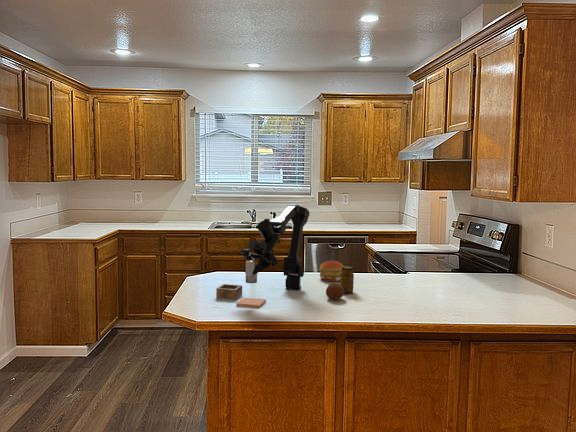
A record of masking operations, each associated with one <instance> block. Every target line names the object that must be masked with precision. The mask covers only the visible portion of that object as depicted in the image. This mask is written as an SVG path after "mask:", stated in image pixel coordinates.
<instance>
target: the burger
mask: <svg viewBox="0 0 576 432" xmlns="http://www.w3.org/2000/svg"><path fill="white" fill-rule="evenodd" d="M342 267H345V266H344V265H343V264H342V263H341V262H340V261H338V260H326V261H324V262H322V263H321V264H320V266H319V272H320V273H319V276H320V279H321V280H322V281H327V282H338V281H340V282H341V272H342Z"/></svg>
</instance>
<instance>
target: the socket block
mask: <svg viewBox="0 0 576 432" xmlns="http://www.w3.org/2000/svg"><path fill="white" fill-rule="evenodd" d="M215 294H216V295H215V297H216V299H217V300H218V299H220V300H231V301H236V300H238V299H239V298H240V297H242V296H243V285H242V284H232V283H231V284H229V283H223V284H221V285H219V286H218V287H217V288H216V292H215Z"/></svg>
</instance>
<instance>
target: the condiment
mask: <svg viewBox="0 0 576 432" xmlns="http://www.w3.org/2000/svg"><path fill="white" fill-rule="evenodd" d="M354 275H355V274H354V268H353V267H352V266H347V265H346V266H344V267H342V272H341V280H340V283H339V284H340V285H341V286H342V287H343V289H344V295H343V296H353V295H358V293H357V292H355V291H354V284H355V283H354V279H355V277H354Z"/></svg>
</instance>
